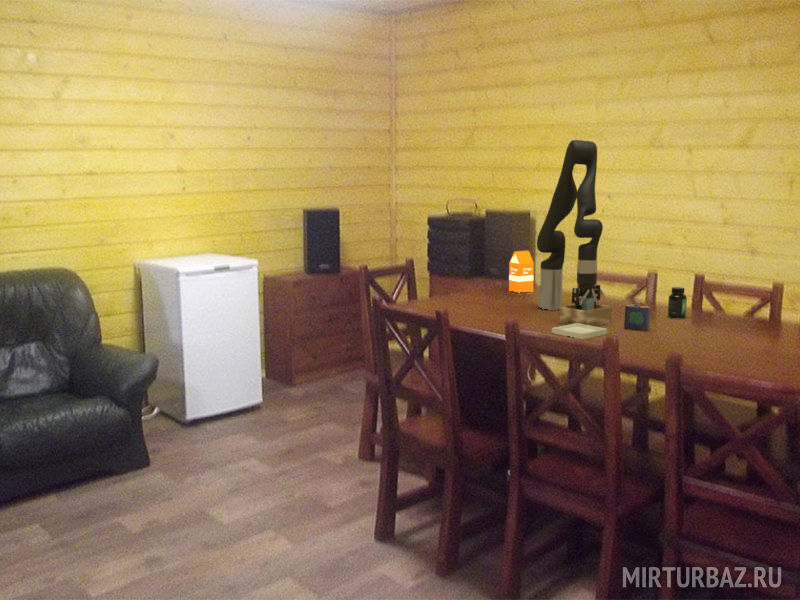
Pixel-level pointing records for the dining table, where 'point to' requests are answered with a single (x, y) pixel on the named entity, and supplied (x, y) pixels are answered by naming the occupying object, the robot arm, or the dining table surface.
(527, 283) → the orange juice
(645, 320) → the flask
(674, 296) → the supplement bottle
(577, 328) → the plate
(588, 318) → the crate
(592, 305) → the block
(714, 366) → the dining table surface
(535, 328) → the dining table surface
